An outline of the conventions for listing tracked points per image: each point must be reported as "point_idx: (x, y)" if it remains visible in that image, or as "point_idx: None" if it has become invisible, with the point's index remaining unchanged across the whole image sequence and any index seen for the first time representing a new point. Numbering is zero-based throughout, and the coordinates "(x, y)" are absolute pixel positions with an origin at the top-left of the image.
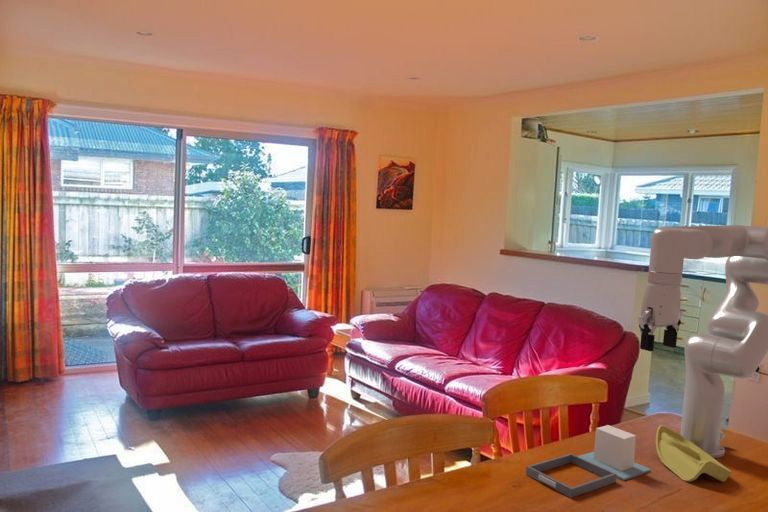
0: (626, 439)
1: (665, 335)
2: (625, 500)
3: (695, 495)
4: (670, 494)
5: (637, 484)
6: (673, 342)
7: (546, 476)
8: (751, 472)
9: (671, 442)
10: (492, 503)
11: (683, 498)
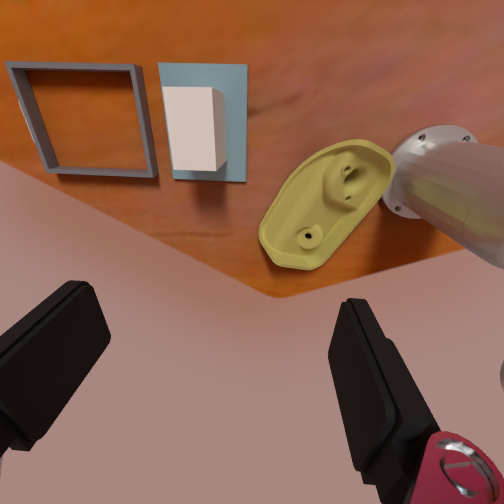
0: (183, 169)
1: (363, 374)
2: (129, 214)
3: (230, 253)
4: (202, 235)
5: (185, 196)
6: (336, 379)
7: (25, 118)
8: (378, 262)
9: (325, 182)
10: None
11: (208, 249)
